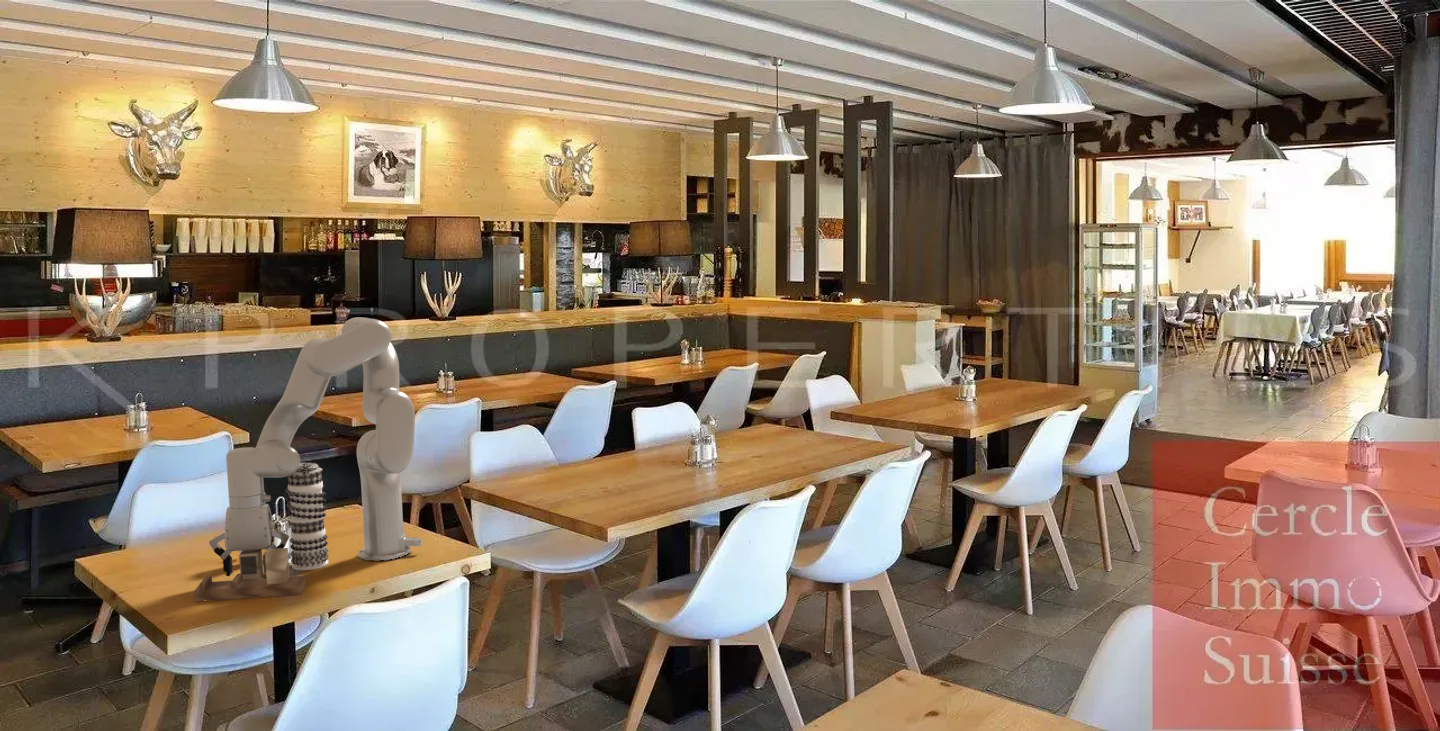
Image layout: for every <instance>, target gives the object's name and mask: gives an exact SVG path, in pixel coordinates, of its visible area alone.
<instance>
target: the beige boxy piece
mask: <svg viewBox="0 0 1440 731" xmlns="http://www.w3.org/2000/svg"><path fill="white" fill-rule="evenodd" d="M238 557H239V558H238V559H239V574H240V573H243V580H246V579H261V578H264V567H263V549H261V550H246V551H242V552H241V553H239V555H238Z"/></svg>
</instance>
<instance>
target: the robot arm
mask: <svg viewBox="0 0 1440 731" xmlns="http://www.w3.org/2000/svg"><path fill="white" fill-rule="evenodd" d="M391 341H392V331H391V329H390V327H389V326H388V325H387V324H386V323H385V322H383V321H382V320H379V319H376V318H369V317H361V316H359V317H357V316H356V317H352V318H350V319H348V320H346V321H345V323H343V325H342V327H341V334H339V335H338V336H334V337H332V338H330V339H326V338H314V339H311V340H308V341H307V342H306V343H304V345H303V347H302V348H301V350H300V351H299V352H300V353H299V355H298V357H297V359H296V362H295V365H294V368H293V370H292V372H291V375H290V377H289V379H288V382H287V384H286V387H285V390H284V392H283V396H282V397H281V399H280V400H279V401H278V402H277V404H276V406H275V407H274V409H273V410H272V412H271V413H270V415H269V416H268V418H267V419H266V421H265V424H264V425H263V428H262V430H261V433H260V435H259V437H258V441H257V442H256V446H255V447H251V446H250V447H248V446H247V447H238V448H233V449H230V450H229V451H227V453H226V457H225V461H226V475H227V477H226V478H227V490H228V491H227V492H228V505H229V506H228V507H227V508H226V512H225V519H224V520H225V521H224V532H222V533H220V534H219V535H217V536H215V537H213V538H212V539H210V540H209V542H208V544H209V545H210V547H211V548H212V550H213V552H214V553H215V554H216V555H217V556H219V557H220V559H221V560H222V564H223V565H222V566H223V573H225V576H226V577H230V576H231V575H233V572H234V568H233V565H234V564H233V557H232V556H231V553H232V552H239V551H246V550H261V549H262V550H265V551H266V552H267V551H268V550H269V549H278V548H286V545H287V543H288V541H289V540H290V535H289V534H288V533H284V532H282V531H279V530H277V529H274V522H273V516H272V512H271V508H270V505H269V504H268V503H267V502H271V500H272V496H271V495H270V494H267V493H266V492H265V486H264V478H286V477H288V476H289V475H291V474H293V473H295V472H296V471H297V469H298V468H299V465H300V463H301V457H300V454H299V453H298V451H297V450H296V449H295V448H293V447H292V446H291V444H292V441H293V439H294V436H295V434H296V433H297V431H298V429H299V428H300V426H301V425H302V423H303V422H304V421H306V420H307V419H308V418H310V417H311V416H313V414H315V413H316V412H317V411H318V410H319V408H320V406H321V405H322V401H323V398H324V396H325V394H326V391H327V388H328V386H329V382H330V380H331V378H332V377H335V376H339V375H342V374H344V373H346V372H349V371H352V370H353V369H355V368H356V367H358V366H360V365H362V369H363V373H362V374H363V386H362V387H363V388H362V389H363V390H362V409H361V410H362V414H363V416H364V418H365V419H366V420H367V421H368V422H369V423H371V424H374V425H375V429H372V430H369V431H366V432H365V433H364V434H363V435H362V436H361V437H360V439H359V440H358V442H357V446H356V458H357V459H356V460H357V465H358V469H359V475H360V476H359V477H360V486H361V488H360V489H361V502H362V504H361V505H362V506H361V507H362V523H363V524H362V525H363V542H364V547H363V548H361V549H360V550H359V551H358V558H359V559H362V560H363V559H364V560H365V561H369V560H374V561H373V562H377V561H378V562H381V561H380V560H384V561H390V559H392V560H396V559H395V558H397V559H399V558H398V557H400V558H403V557H405V556H404V555H406V556H407V554H408V553H409V552H410V551H412V548H411V547H422V546H423V539H422V538H421V537H420V538H419V537H418V536H415V537H414V536H413V537H409V536H407V532H404V519H403V518H404V517H403V500H402V499H403V498H402V493H403V492H402V491H403V490H402V480H401V474H400V473H401V472H404V471H405V470H407V468H408V467H409V466H410V464H411V462H412V460H413V456H414V452H415V451H414V450H415V426H416V425H415V424H416V411H415V407H414V403H413V401H412V400H411V398H410V397H409V395H407V393H404V392H403V391H401V389H400V362H399V357H398V354H397V351H396V349H395V347H394V345H393V343H392V342H391ZM275 538H277V539H278V540H280V543H279V544H278V545H277V546H276V544H274V542H275ZM223 540H224V546H225V549H224V548H223V547H221V546H220V545H219V543H220V542H221V541H223ZM410 553H411V552H410ZM410 553H409V554H410ZM409 554H408V555H409ZM402 556H403V557H402Z"/></svg>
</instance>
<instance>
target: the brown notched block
mask: <svg viewBox="0 0 1440 731" xmlns="http://www.w3.org/2000/svg"><path fill="white" fill-rule="evenodd" d="M289 560H290V559H289V548H288V547H284V548H278V549H269V550H268V551H267V550H266V551H265V553H264V554H262V563H263V574H266V577H263V578H261V579H246V580H243V573H240V572H239V573H237V574H236V575H234V576H235V577H234V578H233V579H231V580H219V581H213V575H206V576H205V577H204V578H203V580H202V581H200V583H199V585H197V587H196V588H195V589H194V590H193V597H194V598H193V601H202V602H205V601H204V600H216V601H226V600H229V599H230V600H240V598H244V599H253V598H254V597H258V598H268V597H267V596H272V597H282V596H285V597H286V596H294V595H295V596H297V595H301V594H302V592H303V590H304V589H305V587H306V579H305V575H292V576H291V575H290V574H291V573H290V561H289Z"/></svg>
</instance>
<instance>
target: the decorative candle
mask: <svg viewBox="0 0 1440 731" xmlns="http://www.w3.org/2000/svg"><path fill="white" fill-rule="evenodd" d="M322 471H323V468H321V467H320V466H319V464H317V463H315V462H300V465H299V468H298V469H297V471H296V472H295V473H293V474H291V475H289V476H287V480H288V481H287V482H288V484H287V487H286V488H285V490H284V492H285V493H286V495H285V499H286V501H287V504H286V507H287V510H286V512H287V514H288V515H289V518H288V521H289V522H290V528H291V531H290V538H289V542H290V543H291V544H290V547H289V548H290V549H291V550H292V551H290V554H289V555H290V556H291V560H290V563H292V565H291V568H292V569H293V570H295V571H310V570H311V571H312V570H316V569H321V568H324V567H326V566H328V565H329V563H328V562H329V555H328V552H329V549H328V547H327V545H328V543H329V542H328V541H327V539H328V535H327V534H326V527H325V518H326V516H327V513H325V512H326V510H327V507H326V506H323V504H325V503H326V502H327V499H326V498H324V497H325V496H326V495H327V493H326V492H324V491H323V489H324V488H325V487H326V485H325V484H323V483H324V482H323V480H322V476H323V475H322ZM327 564H328V565H327ZM325 565H326V566H325ZM323 566H324V567H323Z"/></svg>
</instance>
